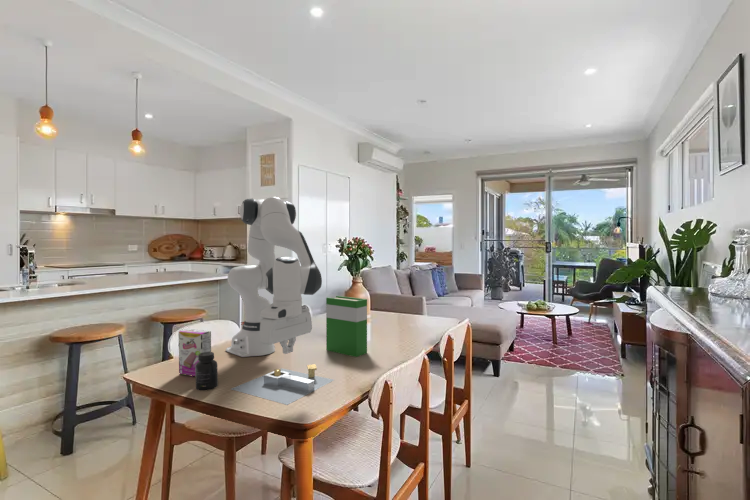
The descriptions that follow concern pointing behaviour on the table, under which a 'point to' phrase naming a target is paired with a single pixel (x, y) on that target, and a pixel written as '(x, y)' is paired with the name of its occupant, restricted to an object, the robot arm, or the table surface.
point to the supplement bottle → (206, 372)
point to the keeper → (311, 370)
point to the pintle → (277, 372)
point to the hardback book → (346, 325)
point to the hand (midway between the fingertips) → (287, 352)
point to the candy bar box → (192, 348)
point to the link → (289, 381)
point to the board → (279, 388)
